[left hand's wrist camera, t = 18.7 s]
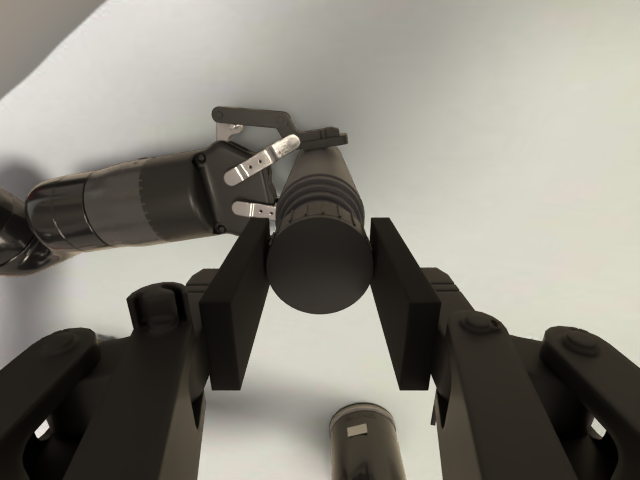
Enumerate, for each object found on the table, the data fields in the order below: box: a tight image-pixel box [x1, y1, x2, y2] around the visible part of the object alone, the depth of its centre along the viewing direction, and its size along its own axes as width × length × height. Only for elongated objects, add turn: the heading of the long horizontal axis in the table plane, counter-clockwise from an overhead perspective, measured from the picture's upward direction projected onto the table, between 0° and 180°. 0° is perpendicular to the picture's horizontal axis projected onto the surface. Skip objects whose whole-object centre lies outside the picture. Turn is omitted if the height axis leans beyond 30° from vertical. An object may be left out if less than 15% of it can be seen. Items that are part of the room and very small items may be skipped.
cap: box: [266, 202, 374, 314], centre depth 14 cm, size 4×4×2 cm
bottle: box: [275, 146, 365, 229], centre depth 24 cm, size 5×5×24 cm
